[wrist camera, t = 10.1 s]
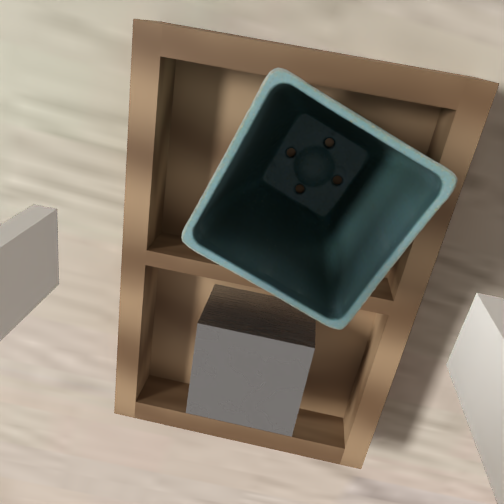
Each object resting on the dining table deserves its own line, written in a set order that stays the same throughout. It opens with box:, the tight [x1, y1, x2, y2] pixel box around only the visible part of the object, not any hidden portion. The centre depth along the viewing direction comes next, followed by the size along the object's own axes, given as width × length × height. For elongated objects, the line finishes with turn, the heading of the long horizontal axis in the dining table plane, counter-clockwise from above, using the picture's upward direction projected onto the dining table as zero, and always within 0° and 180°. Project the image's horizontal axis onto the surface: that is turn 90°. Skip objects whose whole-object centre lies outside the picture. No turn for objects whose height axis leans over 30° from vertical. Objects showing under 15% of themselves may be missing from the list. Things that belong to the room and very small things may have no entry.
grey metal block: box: [186, 284, 316, 437], centre depth 32 cm, size 7×7×5 cm
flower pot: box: [181, 68, 457, 330], centre depth 24 cm, size 9×9×9 cm
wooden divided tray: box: [114, 19, 499, 469], centre depth 31 cm, size 26×18×4 cm
